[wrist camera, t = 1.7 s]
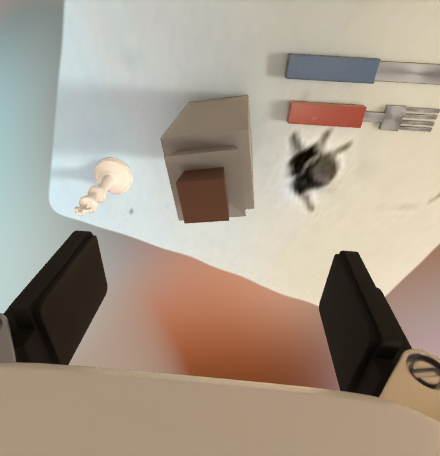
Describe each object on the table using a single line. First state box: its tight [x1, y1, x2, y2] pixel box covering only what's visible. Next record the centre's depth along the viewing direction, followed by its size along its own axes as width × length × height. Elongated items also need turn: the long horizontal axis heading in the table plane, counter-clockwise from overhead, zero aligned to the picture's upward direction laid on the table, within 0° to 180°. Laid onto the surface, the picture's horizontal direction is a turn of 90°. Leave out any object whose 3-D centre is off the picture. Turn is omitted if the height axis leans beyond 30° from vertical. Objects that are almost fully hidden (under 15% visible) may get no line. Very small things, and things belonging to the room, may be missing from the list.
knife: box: [285, 54, 440, 85], centre depth 31 cm, size 2×17×1 cm, turn 88°
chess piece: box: [74, 158, 133, 216], centre depth 36 cm, size 5×5×10 cm
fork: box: [288, 101, 440, 132], centre depth 33 cm, size 3×16×1 cm, turn 88°
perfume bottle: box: [160, 95, 254, 223], centre depth 28 cm, size 7×7×18 cm
